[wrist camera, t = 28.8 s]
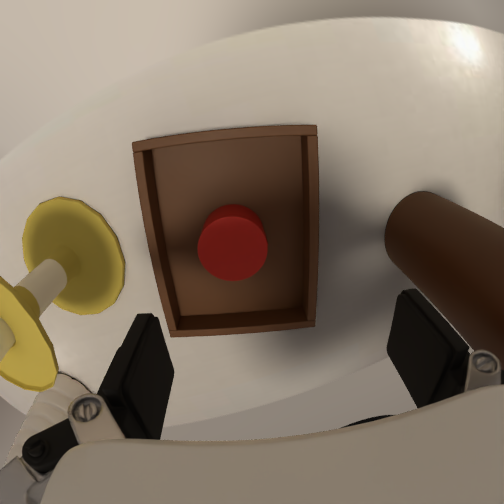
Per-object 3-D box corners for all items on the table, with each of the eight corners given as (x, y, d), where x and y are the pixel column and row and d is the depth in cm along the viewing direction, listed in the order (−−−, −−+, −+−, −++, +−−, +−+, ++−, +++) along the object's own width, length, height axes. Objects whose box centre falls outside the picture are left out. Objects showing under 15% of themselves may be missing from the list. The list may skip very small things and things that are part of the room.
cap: (263, 201, 18) (267, 213, 16) (265, 259, 20) (270, 278, 17) (199, 206, 18) (193, 219, 16) (206, 263, 20) (202, 283, 17)
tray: (308, 307, 22) (315, 326, 20) (176, 317, 22) (170, 337, 20) (307, 125, 17) (317, 124, 15) (144, 140, 17) (131, 142, 14)
